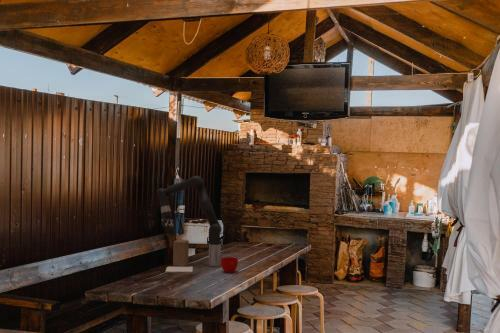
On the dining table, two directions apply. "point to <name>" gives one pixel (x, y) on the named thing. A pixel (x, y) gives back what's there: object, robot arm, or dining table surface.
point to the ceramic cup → (229, 264)
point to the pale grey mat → (179, 269)
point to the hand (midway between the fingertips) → (169, 231)
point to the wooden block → (180, 253)
